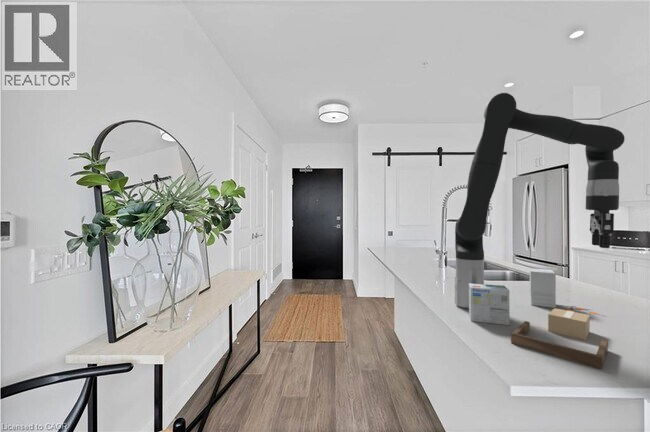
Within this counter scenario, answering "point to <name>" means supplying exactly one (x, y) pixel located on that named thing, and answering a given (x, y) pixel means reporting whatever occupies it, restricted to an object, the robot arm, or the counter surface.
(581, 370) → the counter surface
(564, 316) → the kraft carton
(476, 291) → the light bulb box
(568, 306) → the key chain
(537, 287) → the supplement box
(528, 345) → the brown wooden u-shaped piece
